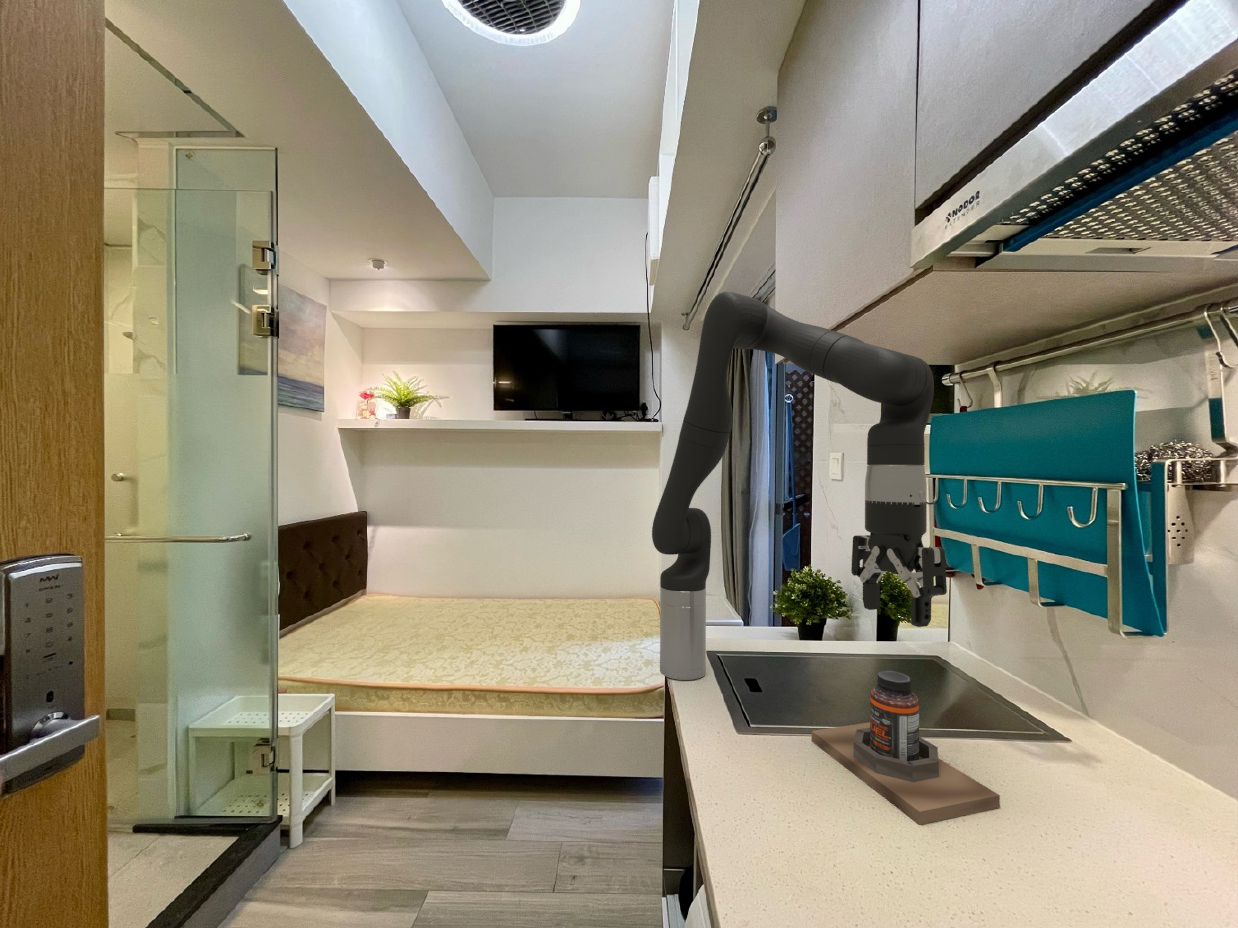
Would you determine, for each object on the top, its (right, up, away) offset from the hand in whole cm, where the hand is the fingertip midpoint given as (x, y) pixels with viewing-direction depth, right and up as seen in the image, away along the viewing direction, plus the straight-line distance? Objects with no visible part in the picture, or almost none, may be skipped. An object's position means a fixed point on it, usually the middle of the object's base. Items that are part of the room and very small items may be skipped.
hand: (894, 616), depth 73 cm
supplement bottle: (0, -19, 0) cm, 20 cm away
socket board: (0, -21, 0) cm, 21 cm away
